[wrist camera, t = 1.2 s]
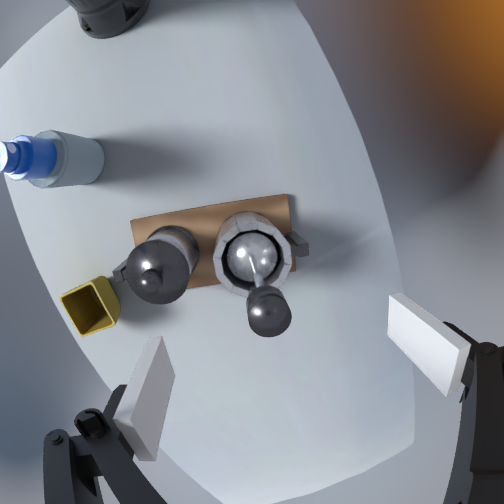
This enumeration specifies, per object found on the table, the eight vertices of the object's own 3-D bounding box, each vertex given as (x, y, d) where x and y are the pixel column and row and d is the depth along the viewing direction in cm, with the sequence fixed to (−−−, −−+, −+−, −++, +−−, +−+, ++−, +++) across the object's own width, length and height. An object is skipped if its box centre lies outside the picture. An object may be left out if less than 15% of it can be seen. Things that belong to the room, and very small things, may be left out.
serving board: (132, 219, 50) (130, 221, 48) (285, 193, 51) (287, 194, 50) (149, 291, 53) (147, 294, 52) (294, 268, 55) (296, 271, 53)
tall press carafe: (212, 216, 49) (206, 228, 37) (287, 204, 50) (307, 213, 37) (222, 273, 52) (220, 303, 39) (294, 261, 53) (314, 287, 40)
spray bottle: (94, 129, 45) (12, 105, 21) (111, 169, 47) (30, 166, 23) (60, 155, 45) (-28, 150, 21) (76, 193, 48) (-11, 209, 23)
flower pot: (110, 265, 52) (91, 280, 43) (130, 304, 54) (116, 325, 45) (78, 280, 52) (57, 297, 43) (98, 317, 54) (81, 338, 45)
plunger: (223, 236, 40) (219, 285, 21) (272, 228, 40) (309, 270, 22) (231, 283, 41) (234, 360, 23) (278, 275, 42) (314, 345, 23)
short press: (126, 233, 49) (86, 256, 33) (193, 220, 49) (177, 239, 34) (139, 285, 51) (108, 326, 36) (204, 275, 52) (194, 316, 36)
